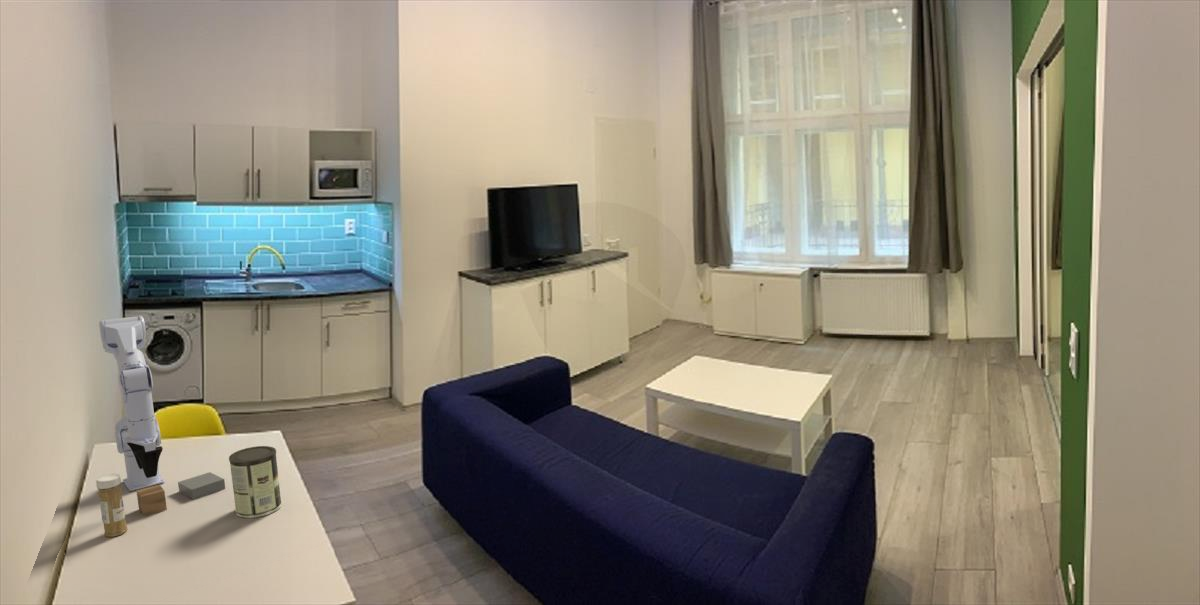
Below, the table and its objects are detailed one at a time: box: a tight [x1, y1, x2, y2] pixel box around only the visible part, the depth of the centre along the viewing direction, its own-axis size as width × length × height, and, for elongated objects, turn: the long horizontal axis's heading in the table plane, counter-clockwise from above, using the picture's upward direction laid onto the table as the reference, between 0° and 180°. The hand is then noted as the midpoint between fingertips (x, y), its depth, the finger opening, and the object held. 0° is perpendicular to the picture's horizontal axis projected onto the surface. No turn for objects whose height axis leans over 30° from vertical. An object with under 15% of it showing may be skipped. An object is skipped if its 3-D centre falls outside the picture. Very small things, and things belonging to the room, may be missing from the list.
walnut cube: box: [135, 484, 168, 517], centre depth 184 cm, size 5×5×5 cm
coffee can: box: [228, 445, 282, 519], centre depth 182 cm, size 10×10×14 cm
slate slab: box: [177, 471, 226, 500], centre depth 195 cm, size 8×8×3 cm
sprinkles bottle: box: [95, 473, 128, 538], centre depth 172 cm, size 5×5×14 cm
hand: (147, 472), depth 183 cm, fingers open, 7 cm apart
